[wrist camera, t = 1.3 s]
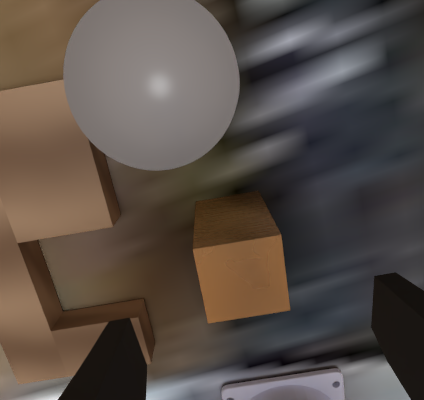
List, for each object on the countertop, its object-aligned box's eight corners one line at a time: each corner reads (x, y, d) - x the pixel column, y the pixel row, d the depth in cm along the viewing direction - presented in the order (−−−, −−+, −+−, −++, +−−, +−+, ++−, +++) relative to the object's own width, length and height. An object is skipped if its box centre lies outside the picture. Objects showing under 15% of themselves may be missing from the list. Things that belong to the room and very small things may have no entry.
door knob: (247, 142, 18) (265, 166, 13) (117, 165, 19) (81, 197, 13) (226, -7, 16) (238, -52, 11) (79, 21, 17) (19, -10, 11)
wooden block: (266, 247, 20) (290, 310, 15) (206, 257, 21) (208, 323, 15) (258, 190, 19) (281, 234, 14) (195, 201, 19) (192, 249, 14)
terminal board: (155, 342, 22) (149, 371, 20) (32, 361, 22) (13, 392, 20) (84, 78, 17) (66, 77, 15) (-72, 107, 18) (-113, 110, 15)
